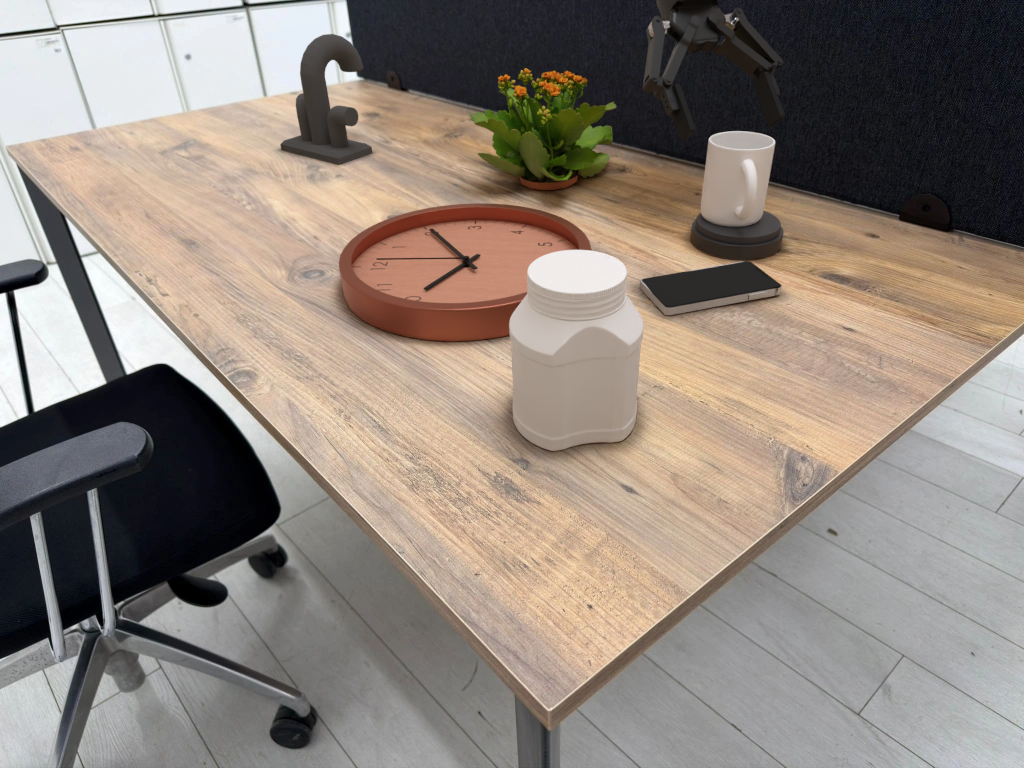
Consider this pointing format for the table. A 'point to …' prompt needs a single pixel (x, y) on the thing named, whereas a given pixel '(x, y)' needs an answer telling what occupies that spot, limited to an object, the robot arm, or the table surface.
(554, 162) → the potted flower
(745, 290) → the smartphone
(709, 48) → the robot arm
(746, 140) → the mug
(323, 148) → the faucet
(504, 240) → the clock
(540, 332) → the jar
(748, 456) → the table surface
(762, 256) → the stand
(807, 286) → the table surface
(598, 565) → the table surface
